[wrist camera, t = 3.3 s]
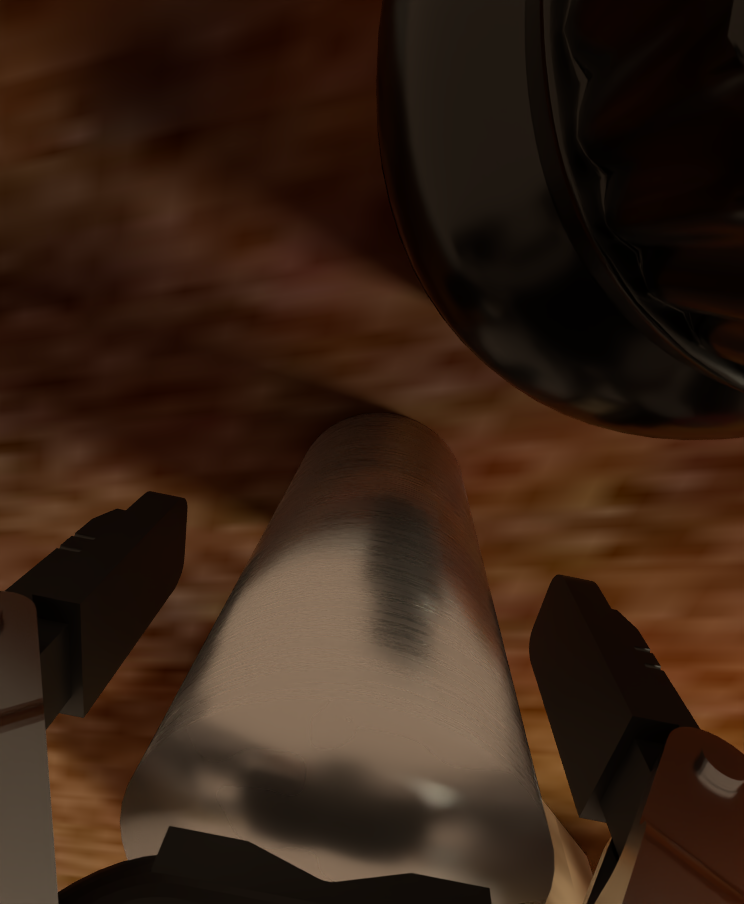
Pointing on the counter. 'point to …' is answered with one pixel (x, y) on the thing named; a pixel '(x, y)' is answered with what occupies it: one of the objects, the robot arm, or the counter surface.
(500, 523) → the counter surface
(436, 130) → the supplement bottle
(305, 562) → the white cylinder peg
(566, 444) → the counter surface
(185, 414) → the counter surface
